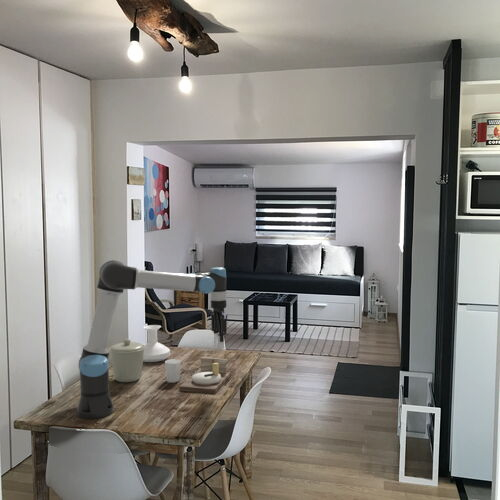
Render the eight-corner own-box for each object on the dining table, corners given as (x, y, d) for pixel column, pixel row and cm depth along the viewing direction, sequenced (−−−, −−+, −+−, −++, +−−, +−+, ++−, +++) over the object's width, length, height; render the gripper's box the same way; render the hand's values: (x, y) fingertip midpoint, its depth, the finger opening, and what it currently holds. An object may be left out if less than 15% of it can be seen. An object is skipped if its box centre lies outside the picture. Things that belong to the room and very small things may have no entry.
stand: (215, 393, 247) (215, 374, 246) (179, 390, 251) (179, 372, 250) (230, 376, 273) (230, 359, 272) (198, 373, 277) (198, 356, 277)
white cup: (178, 383, 262) (177, 363, 261) (163, 382, 263) (162, 363, 262) (183, 378, 269) (182, 359, 269) (168, 377, 271) (168, 358, 270)
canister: (108, 386, 258) (107, 344, 256) (110, 375, 275) (109, 335, 274) (146, 383, 261) (145, 342, 260) (145, 373, 279) (144, 334, 278)
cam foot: (200, 386, 250) (199, 371, 249) (187, 378, 262) (187, 364, 261) (225, 381, 257) (225, 366, 256) (212, 374, 269) (212, 359, 268)
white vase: (127, 360, 302) (127, 328, 301) (152, 353, 319) (152, 321, 317) (152, 366, 291) (152, 332, 289) (177, 358, 307) (176, 325, 306)
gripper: (233, 301, 248) (234, 350, 250) (217, 296, 262) (218, 342, 264) (219, 302, 244) (220, 352, 246) (204, 298, 258) (204, 344, 260)
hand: (219, 347), depth 255 cm, fingers open, 3 cm apart
